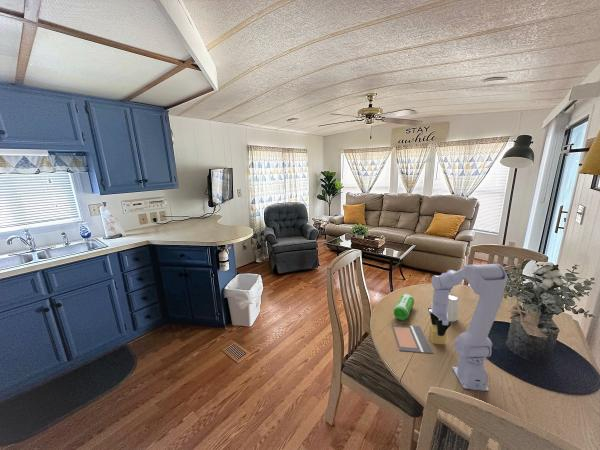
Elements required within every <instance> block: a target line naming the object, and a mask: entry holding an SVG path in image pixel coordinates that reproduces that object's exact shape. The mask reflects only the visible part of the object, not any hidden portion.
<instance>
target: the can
mask: <svg viewBox="0 0 600 450" xmlns="http://www.w3.org/2000/svg"><path fill="white" fill-rule="evenodd" d="M459 301H460V300H459V297H458V296H457V295H455V294H451V293H449V298H448V308H447V313H448V321H449V322H450V323H455V322H457V320H458V314H459V313H458V312H459V303H460V302H459Z"/></svg>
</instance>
